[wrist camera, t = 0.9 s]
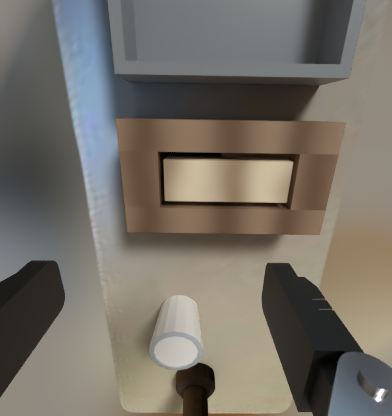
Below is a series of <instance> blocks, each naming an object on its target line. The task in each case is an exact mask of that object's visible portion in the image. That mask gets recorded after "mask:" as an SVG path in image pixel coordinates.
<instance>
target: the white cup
mask: <svg viewBox="0 0 392 416" xmlns="http://www.w3.org/2000/svg"><path fill="white" fill-rule="evenodd" d="M149 354H150V356H151V359H152V360H153V361H154V362H155V363H156V364H158V365H159V366H161V367H164V368H166V369H171V370H182V369H188V368H190V367H192V366H194V365H196V364H197V363H198V362H199V361H200V360H201V358H202V354H203V345H202V337H201V329H200V322H199V314H198V308H197V304H196V303H195V302H194V301H193V300H192V299H191V298H189V297H187V296H181V295H177V296H171V297H170V298H168V299H166V300H165V301H164V303H163V304H162V307H161V310H160V313H159V316H158V320H157V323H156V326H155V330H154V333H153V336H152V339H151V343H150V347H149Z"/></svg>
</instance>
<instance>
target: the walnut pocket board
mask: <svg viewBox="0 0 392 416" xmlns="http://www.w3.org/2000/svg"><path fill="white" fill-rule="evenodd" d="M345 125H346V122H320V121H268V120H209V119H150V118H121V119H116V126H117V136H118V146H119V155H120V165H121V175H122V185H123V195H124V204H125V214H126V224H127V232H146V233H217V234H289V235H320V231H321V227H322V223H323V219H324V214H325V210H326V206H327V201H328V197H329V193H330V189H331V184H332V180H333V176H334V172H335V167H336V163H337V159H338V155H339V150H340V146H341V142H342V138H343V133H344V129H345ZM166 152H209V153H218V157H271V158H286V159H288V160H290V161H292V162H293V168H292V174H291V180H290V186H289V192H288V198H287V203H267V202H199V201H165V191H164V162H163V160H164V159H165V157H166Z"/></svg>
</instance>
